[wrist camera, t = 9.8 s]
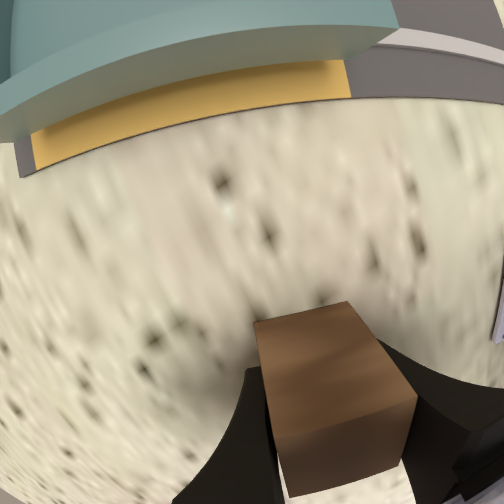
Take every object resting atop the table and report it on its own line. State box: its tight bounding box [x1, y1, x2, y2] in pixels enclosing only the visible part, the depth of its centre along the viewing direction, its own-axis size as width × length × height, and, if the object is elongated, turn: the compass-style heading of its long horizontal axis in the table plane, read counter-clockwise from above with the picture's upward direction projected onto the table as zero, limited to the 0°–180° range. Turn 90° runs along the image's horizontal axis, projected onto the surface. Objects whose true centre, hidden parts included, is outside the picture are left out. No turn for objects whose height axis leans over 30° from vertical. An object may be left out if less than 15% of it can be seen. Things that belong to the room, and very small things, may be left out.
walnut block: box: [254, 301, 418, 498], centre depth 10 cm, size 4×4×6 cm
